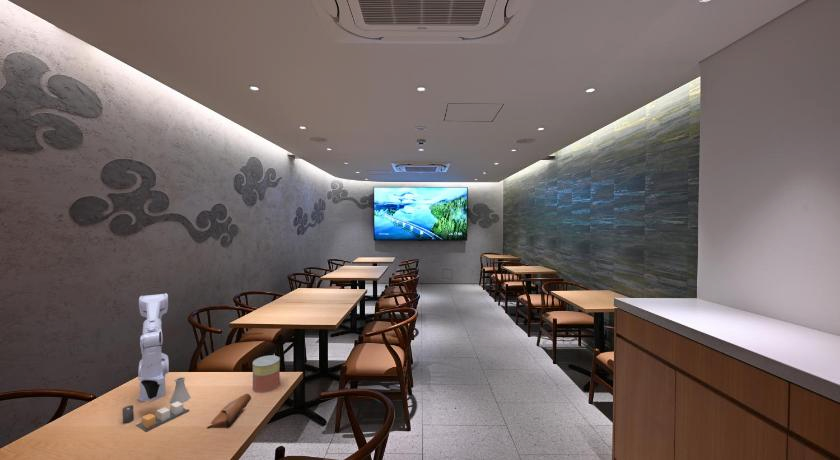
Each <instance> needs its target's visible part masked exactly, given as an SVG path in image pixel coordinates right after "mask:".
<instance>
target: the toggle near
mask: <svg viewBox="0 0 840 460" xmlns="http://www.w3.org/2000/svg"><path fill="white" fill-rule="evenodd" d="M169 404H170V409H169V410H170V411H171V413H173V414H175V415H177V414H179V413H181V412H183V408H184V403H180V402H178V401H177V402H175V403H173V404H171V403H169Z"/></svg>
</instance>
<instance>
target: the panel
mask: <svg viewBox="0 0 840 460" xmlns="http://www.w3.org/2000/svg"><path fill="white" fill-rule="evenodd" d="M189 412H190V408H188V409H186V408H184V407H183V412H181V413H179V414H177V415H175V414H173V413H171V411H170V418H168V419H166V420H164V421H161V420H159V419H157V415H155V416H156V424H155V425H153V426H151V427H149V428H146V427H144V426H143V425H142V421H141V422H140V423H137V424H135V427H137V428H138V429H140V430H142V431H143V432H145V433H147V432H151V431H152V430H153V429H154V430H155V429H156V428H158V427H160V426H162V425H164V424H166V423H168V422H171V421H173V420H176V419H177V418H179V417H181V416H183V415H186V414H188V413H189Z"/></svg>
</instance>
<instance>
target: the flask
mask: <svg viewBox="0 0 840 460" xmlns="http://www.w3.org/2000/svg"><path fill="white" fill-rule="evenodd" d="M185 379H186V377H184V376H181V377H178V378H177V377H176V378H175V379H174V382H175V386H174V390H173V393H172V395H171V398H170V400H169V404H173V403H175V402H177V401H178V402H180V403H182V404H184V403H186V402H188V401H189V400H190V399H191V396H190V393H189V391H188V389H187V388H186V385H185Z"/></svg>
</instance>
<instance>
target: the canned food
mask: <svg viewBox="0 0 840 460" xmlns="http://www.w3.org/2000/svg"><path fill="white" fill-rule="evenodd" d="M280 360H281V358H280V356H277V355H273V354H272V355H263V356H260V357H257V358H255V359H254V360H253V361H252V391H253V392H255V393H258V394H262V393H263V394H264V393H269V392H272V391H274V390H276V389H278V388H279V387H278V386H280V385H281V382H280V381H281V380H280V377H281V376H280V375H281V373H280V368H281V367H280Z"/></svg>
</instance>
